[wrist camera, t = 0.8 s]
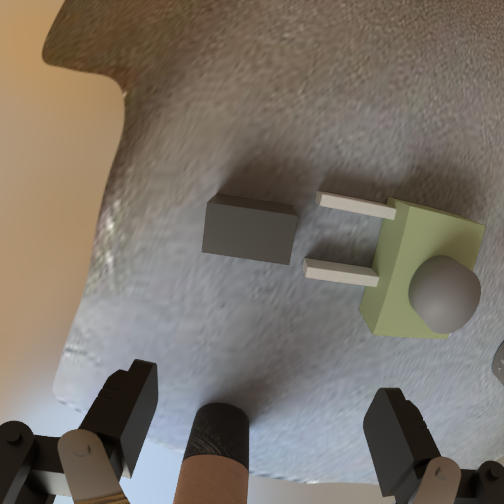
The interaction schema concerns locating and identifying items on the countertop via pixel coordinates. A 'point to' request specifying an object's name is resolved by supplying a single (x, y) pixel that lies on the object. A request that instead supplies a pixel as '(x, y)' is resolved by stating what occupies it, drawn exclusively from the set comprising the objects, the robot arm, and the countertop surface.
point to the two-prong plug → (411, 268)
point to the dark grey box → (249, 229)
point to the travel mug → (215, 458)
